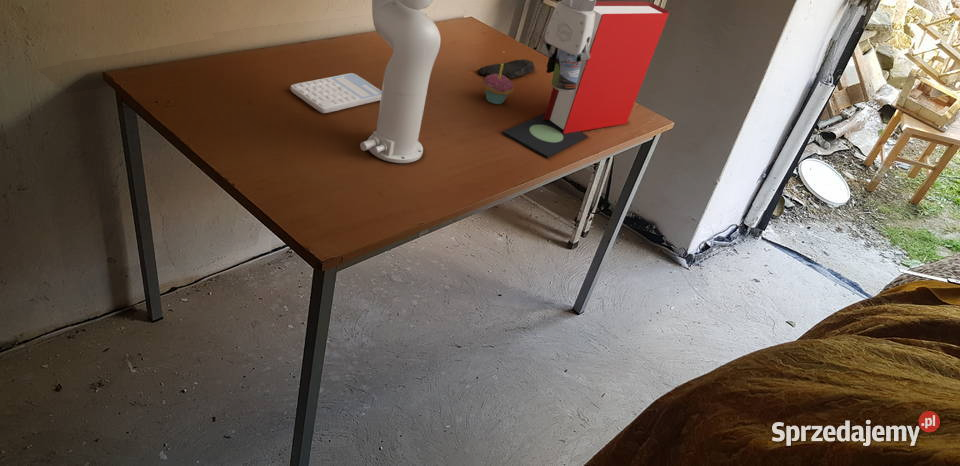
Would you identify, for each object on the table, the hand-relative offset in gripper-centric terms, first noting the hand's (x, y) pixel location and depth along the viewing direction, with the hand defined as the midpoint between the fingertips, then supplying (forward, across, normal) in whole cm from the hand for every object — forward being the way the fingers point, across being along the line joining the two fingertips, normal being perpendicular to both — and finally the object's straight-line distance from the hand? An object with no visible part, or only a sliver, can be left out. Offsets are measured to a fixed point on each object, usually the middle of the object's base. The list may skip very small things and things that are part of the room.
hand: (557, 74), depth 172 cm
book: (+17, +4, +19) cm, 26 cm away
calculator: (+17, -41, -32) cm, 54 cm away
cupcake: (+17, -19, +5) cm, 26 cm away
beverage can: (+3, +2, 0) cm, 4 cm away
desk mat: (+17, +1, +1) cm, 17 cm away
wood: (+17, -28, +25) cm, 41 cm away
